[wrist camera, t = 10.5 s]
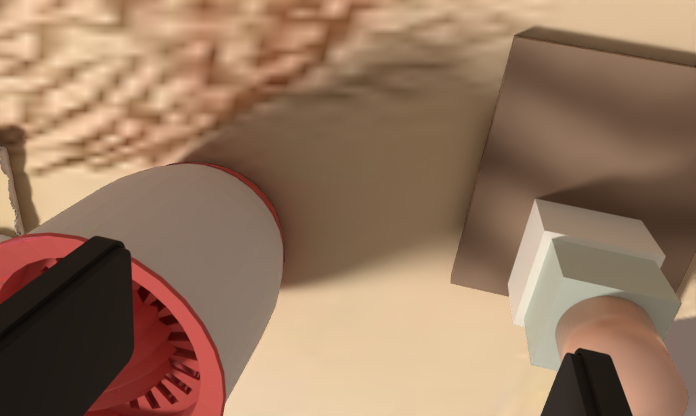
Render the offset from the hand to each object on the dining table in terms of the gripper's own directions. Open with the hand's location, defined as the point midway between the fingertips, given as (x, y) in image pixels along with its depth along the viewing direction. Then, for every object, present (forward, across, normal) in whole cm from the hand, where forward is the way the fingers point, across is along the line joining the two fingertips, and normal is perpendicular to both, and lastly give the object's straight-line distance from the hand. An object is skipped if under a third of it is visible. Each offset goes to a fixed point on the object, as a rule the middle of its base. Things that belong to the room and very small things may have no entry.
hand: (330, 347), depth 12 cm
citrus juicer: (+28, +15, +15) cm, 36 cm away
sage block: (+22, -12, +10) cm, 27 cm away
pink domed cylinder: (+18, -12, +9) cm, 24 cm away
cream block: (+27, -12, +10) cm, 31 cm away
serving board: (+28, -12, +5) cm, 31 cm away
